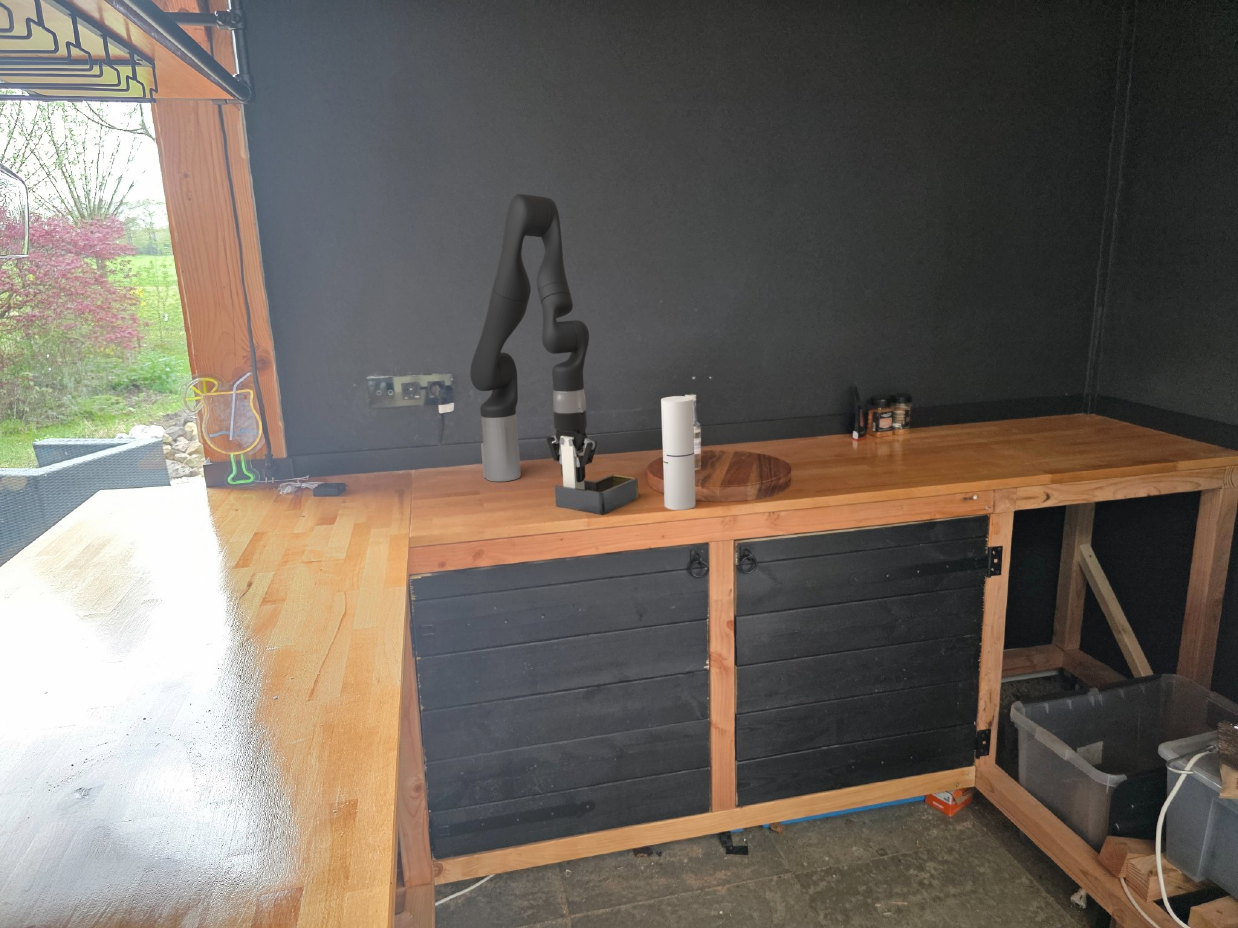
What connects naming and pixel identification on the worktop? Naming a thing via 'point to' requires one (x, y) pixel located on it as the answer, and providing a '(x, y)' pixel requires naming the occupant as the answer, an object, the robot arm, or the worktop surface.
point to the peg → (569, 465)
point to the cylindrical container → (678, 452)
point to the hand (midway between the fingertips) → (573, 479)
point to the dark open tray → (598, 494)
